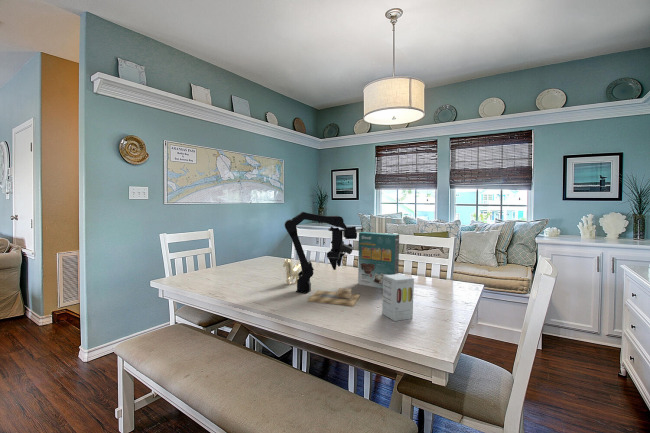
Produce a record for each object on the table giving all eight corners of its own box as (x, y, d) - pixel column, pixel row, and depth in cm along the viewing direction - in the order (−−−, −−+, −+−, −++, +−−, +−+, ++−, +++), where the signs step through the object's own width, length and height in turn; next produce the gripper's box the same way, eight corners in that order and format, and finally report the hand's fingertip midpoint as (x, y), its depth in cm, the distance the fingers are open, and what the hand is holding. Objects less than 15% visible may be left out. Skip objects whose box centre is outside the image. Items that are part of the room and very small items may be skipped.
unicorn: (298, 279, 187) (298, 251, 186) (303, 280, 185) (304, 252, 185) (280, 288, 169) (280, 257, 168) (286, 289, 167) (286, 257, 166)
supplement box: (394, 321, 123) (395, 280, 123) (381, 313, 132) (382, 275, 131) (413, 318, 127) (414, 278, 126) (399, 310, 136) (400, 273, 135)
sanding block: (337, 298, 149) (337, 290, 148) (339, 295, 152) (339, 287, 152) (349, 299, 147) (349, 291, 147) (351, 297, 151) (351, 289, 150)
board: (308, 301, 148) (308, 298, 148) (317, 292, 161) (317, 290, 161) (353, 306, 141) (353, 303, 141) (359, 297, 155) (359, 294, 155)
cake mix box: (398, 287, 172) (399, 234, 171) (394, 290, 167) (395, 235, 166) (362, 281, 184) (363, 231, 183) (358, 284, 179) (358, 232, 178)
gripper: (348, 242, 154) (347, 273, 154) (355, 238, 171) (355, 265, 172) (326, 241, 157) (326, 271, 158) (336, 237, 175) (335, 264, 176)
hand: (336, 268), depth 166 cm, fingers open, 9 cm apart
